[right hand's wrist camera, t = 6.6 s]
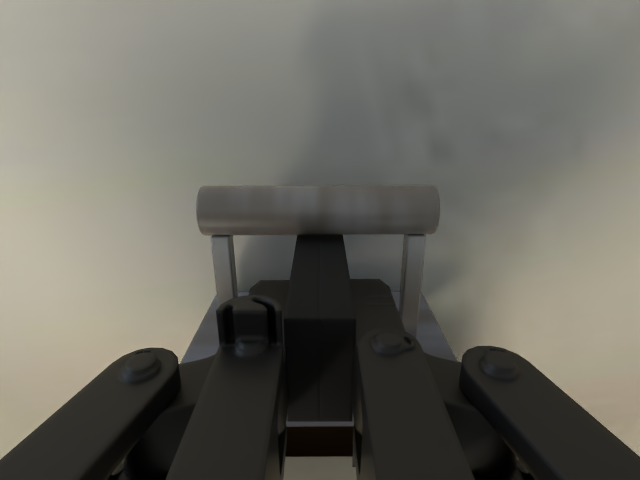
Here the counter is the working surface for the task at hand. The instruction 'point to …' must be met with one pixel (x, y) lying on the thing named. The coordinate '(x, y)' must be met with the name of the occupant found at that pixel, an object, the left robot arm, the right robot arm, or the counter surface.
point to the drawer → (321, 219)
